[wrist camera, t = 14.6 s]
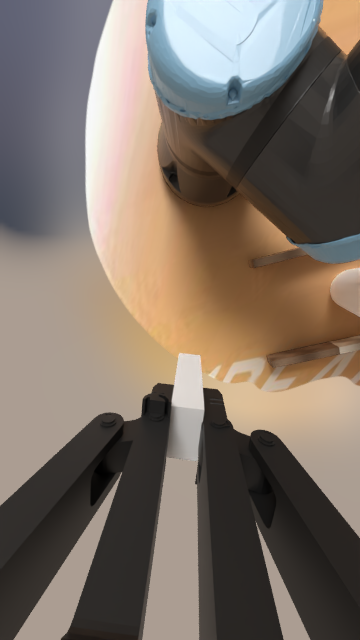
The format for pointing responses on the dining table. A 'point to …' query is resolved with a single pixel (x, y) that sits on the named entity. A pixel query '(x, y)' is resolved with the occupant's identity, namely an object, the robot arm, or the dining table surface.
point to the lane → (309, 351)
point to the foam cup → (347, 290)
